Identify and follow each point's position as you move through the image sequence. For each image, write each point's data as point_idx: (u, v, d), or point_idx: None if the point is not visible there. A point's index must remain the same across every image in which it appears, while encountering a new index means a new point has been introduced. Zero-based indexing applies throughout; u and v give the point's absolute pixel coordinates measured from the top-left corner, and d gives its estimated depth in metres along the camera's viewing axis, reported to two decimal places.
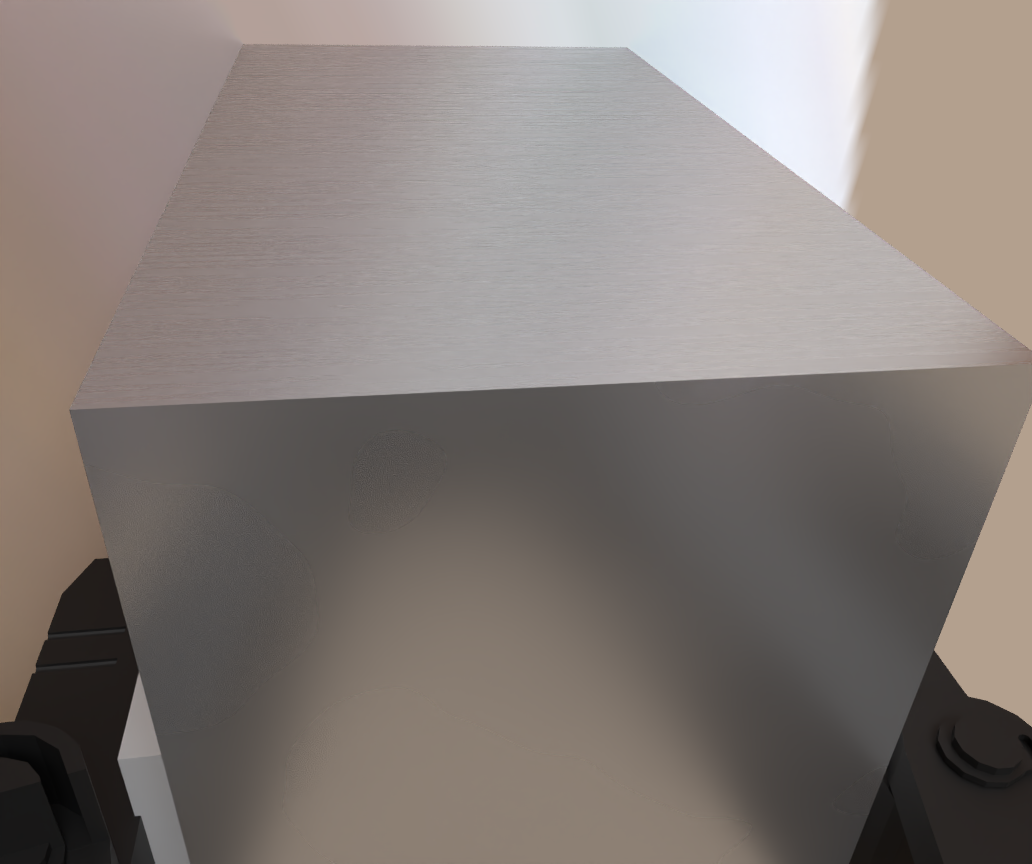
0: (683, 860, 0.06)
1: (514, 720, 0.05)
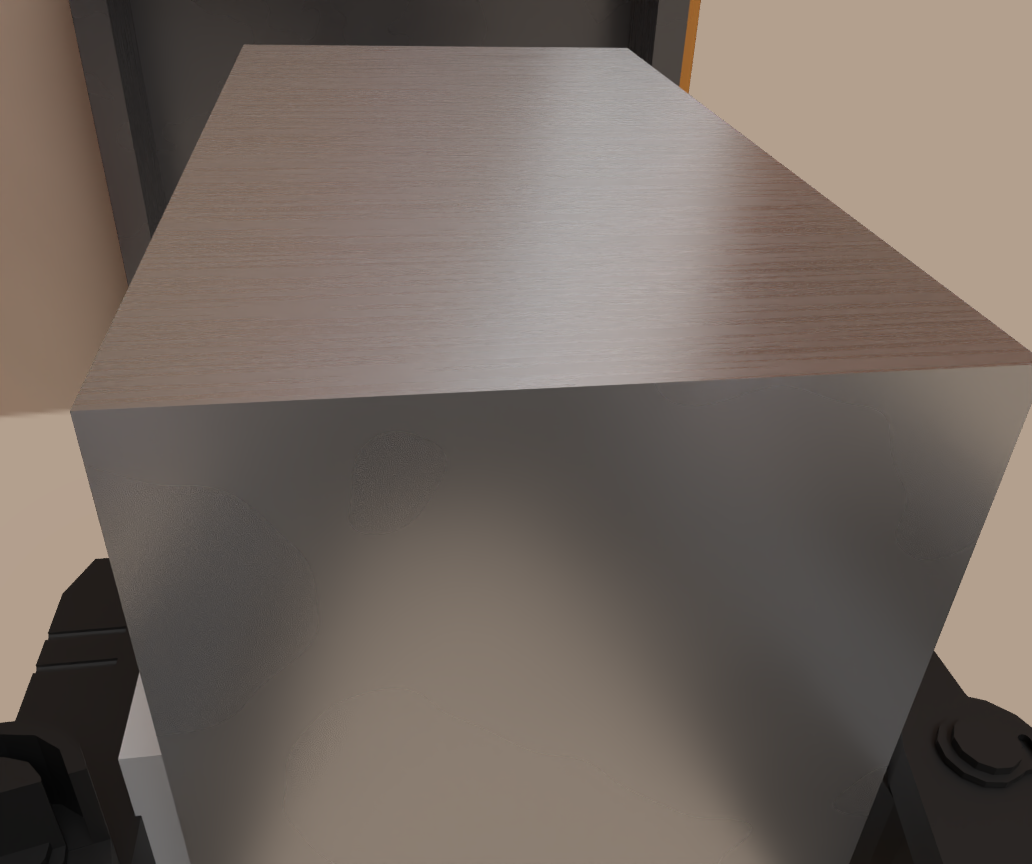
0: (684, 860, 0.06)
1: (514, 720, 0.05)
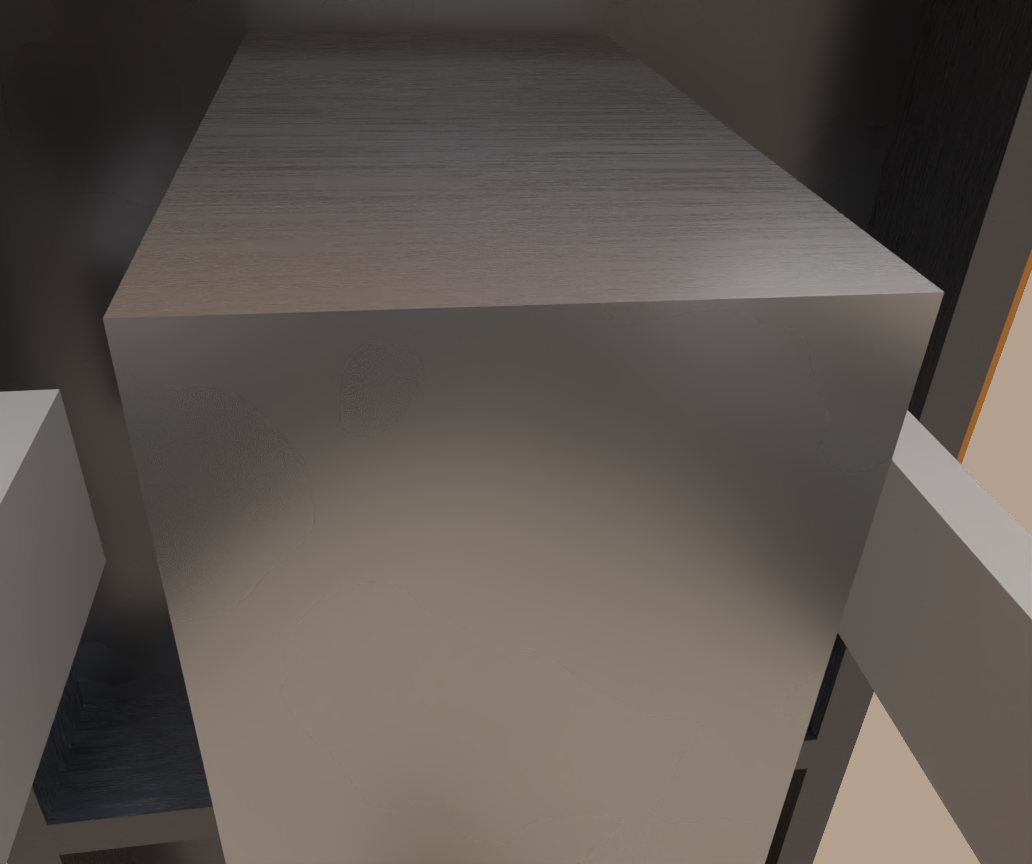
0: (643, 758, 0.07)
1: (486, 616, 0.06)
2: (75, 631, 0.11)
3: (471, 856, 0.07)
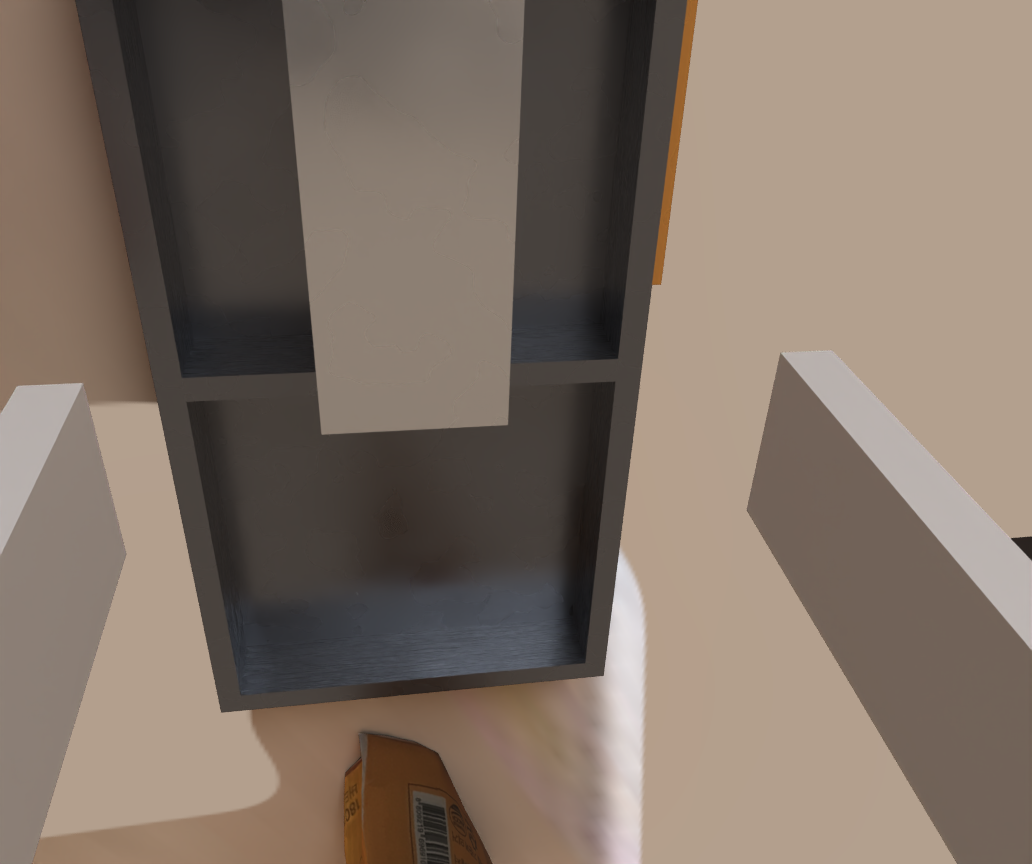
0: (455, 177, 0.19)
1: (391, 95, 0.18)
2: (98, 622, 0.11)
3: (393, 225, 0.19)
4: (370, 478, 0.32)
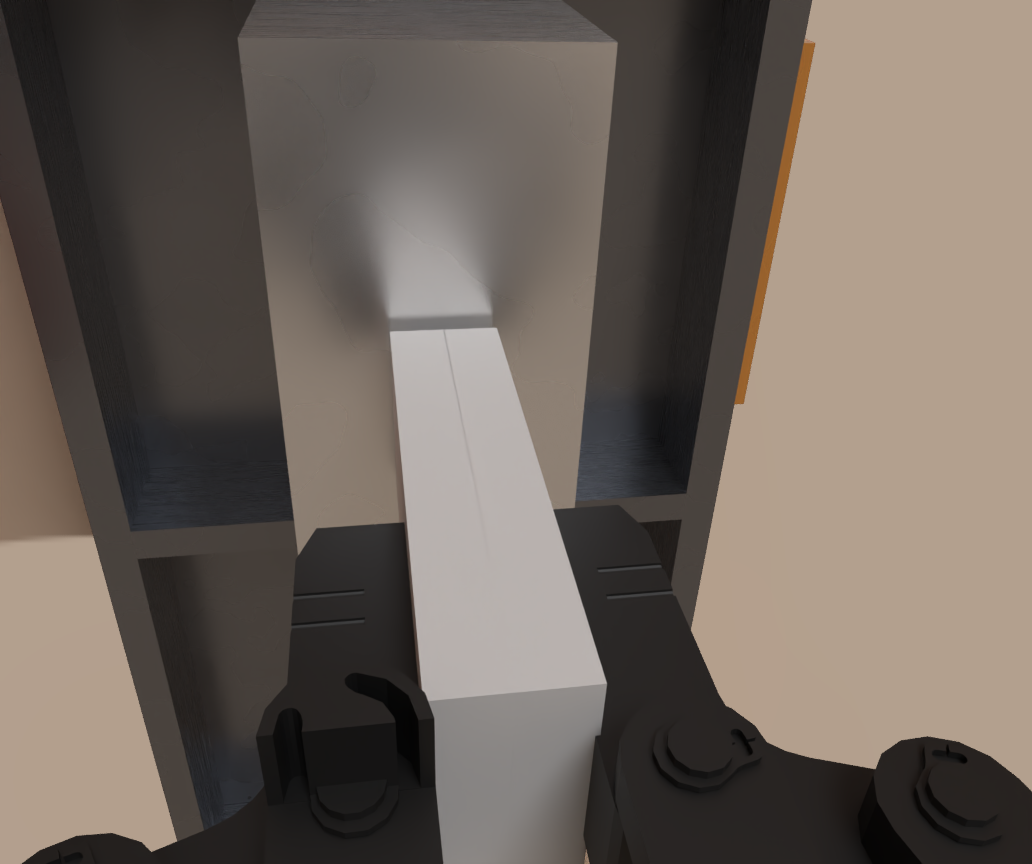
0: (502, 329, 0.13)
1: (412, 219, 0.12)
2: None
3: None
4: None
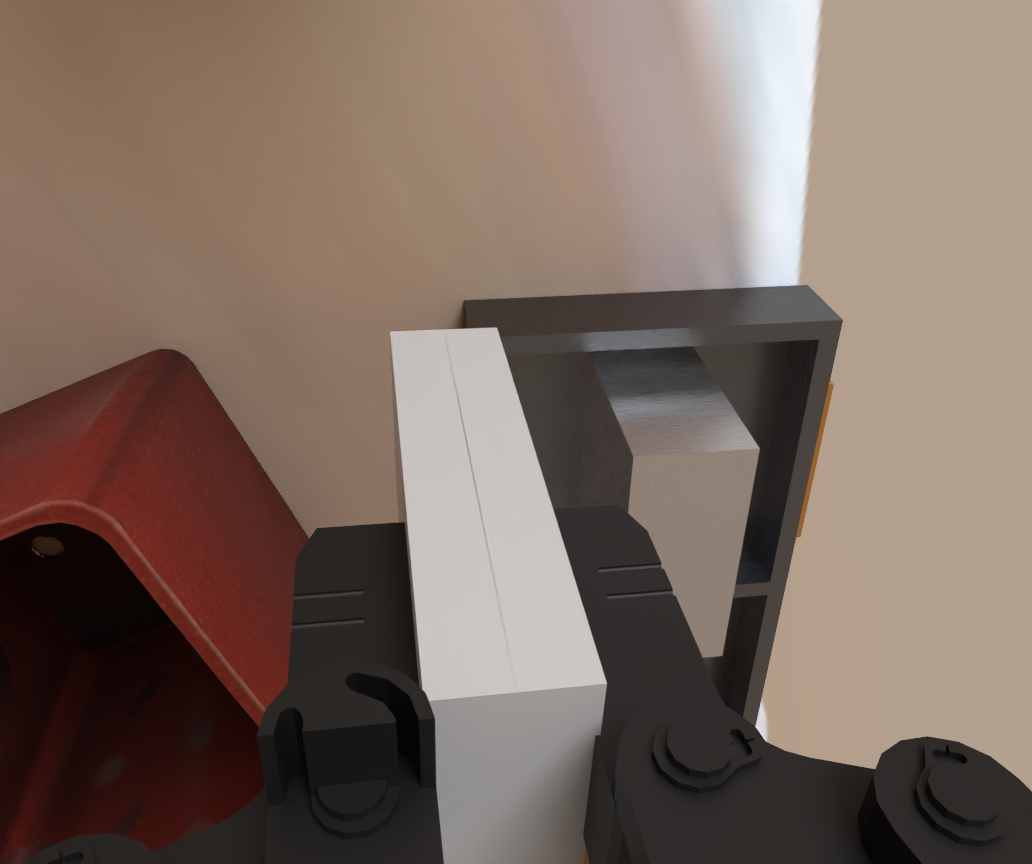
0: (709, 538, 0.34)
1: (681, 504, 0.33)
2: None
3: (672, 562, 0.34)
4: None
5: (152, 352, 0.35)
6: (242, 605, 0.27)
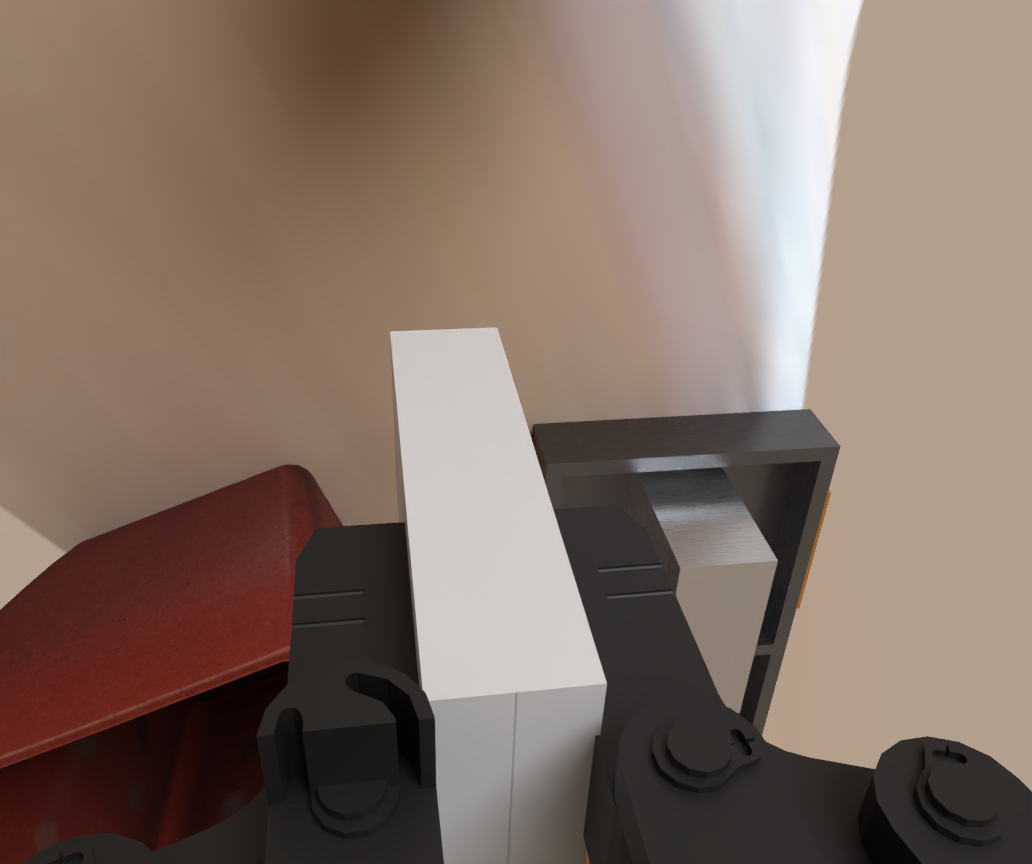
0: (735, 626, 0.43)
1: (715, 602, 0.41)
2: None
3: (705, 643, 0.43)
4: None
5: (284, 470, 0.43)
6: None
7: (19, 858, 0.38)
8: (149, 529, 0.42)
